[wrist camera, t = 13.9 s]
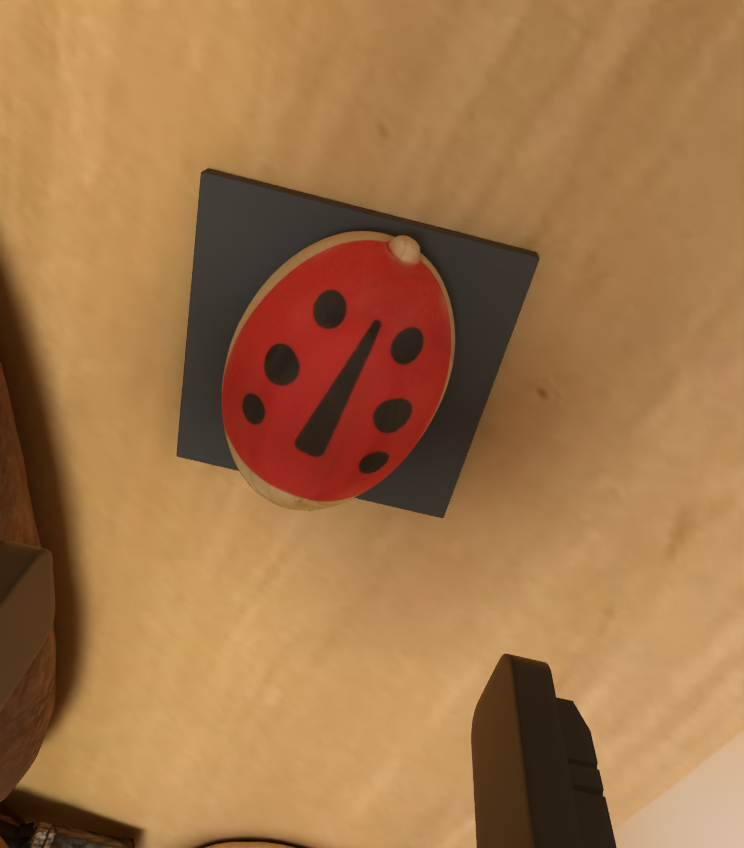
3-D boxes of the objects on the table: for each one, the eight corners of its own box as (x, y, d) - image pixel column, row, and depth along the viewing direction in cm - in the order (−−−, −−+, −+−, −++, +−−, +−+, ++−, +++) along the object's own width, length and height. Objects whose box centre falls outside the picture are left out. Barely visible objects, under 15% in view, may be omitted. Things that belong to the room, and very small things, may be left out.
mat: (206, 167, 19) (200, 171, 18) (537, 252, 19) (540, 258, 19) (181, 447, 24) (176, 456, 23) (443, 509, 24) (443, 518, 24)
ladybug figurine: (201, 443, 23) (166, 504, 20) (291, 172, 18) (262, 198, 15) (374, 509, 24) (367, 577, 21) (505, 268, 19) (519, 311, 16)
